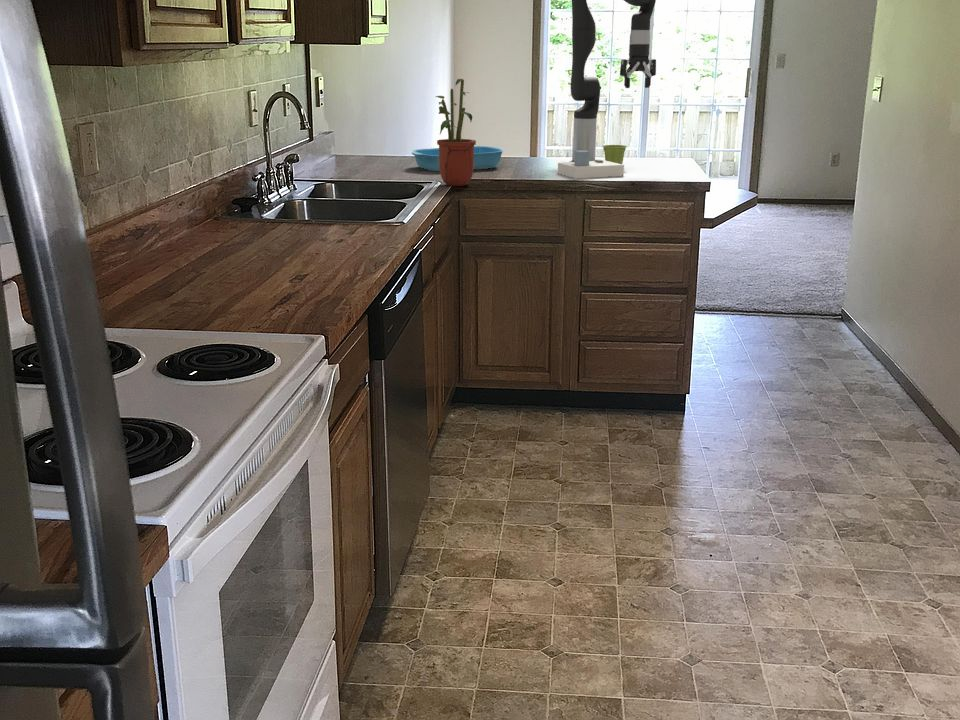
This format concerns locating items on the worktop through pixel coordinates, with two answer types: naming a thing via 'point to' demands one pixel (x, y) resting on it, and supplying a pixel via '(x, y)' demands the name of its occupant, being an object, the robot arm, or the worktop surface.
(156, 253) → the worktop surface
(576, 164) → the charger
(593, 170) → the outlet plate
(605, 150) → the plant pot
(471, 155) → the potted plant
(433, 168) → the casserole dish
